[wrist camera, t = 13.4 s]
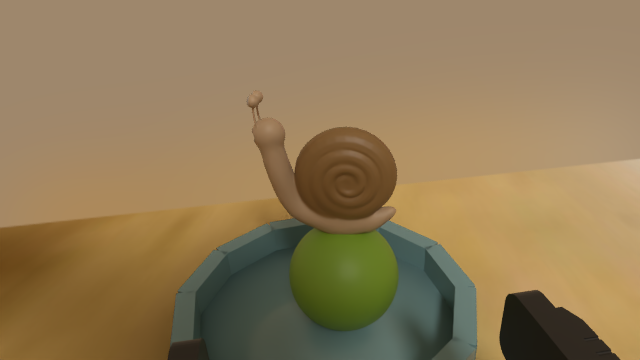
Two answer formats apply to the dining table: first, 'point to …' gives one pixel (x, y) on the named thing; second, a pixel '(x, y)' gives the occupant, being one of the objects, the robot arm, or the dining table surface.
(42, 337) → the dining table surface
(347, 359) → the dish
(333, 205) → the snail figurine
